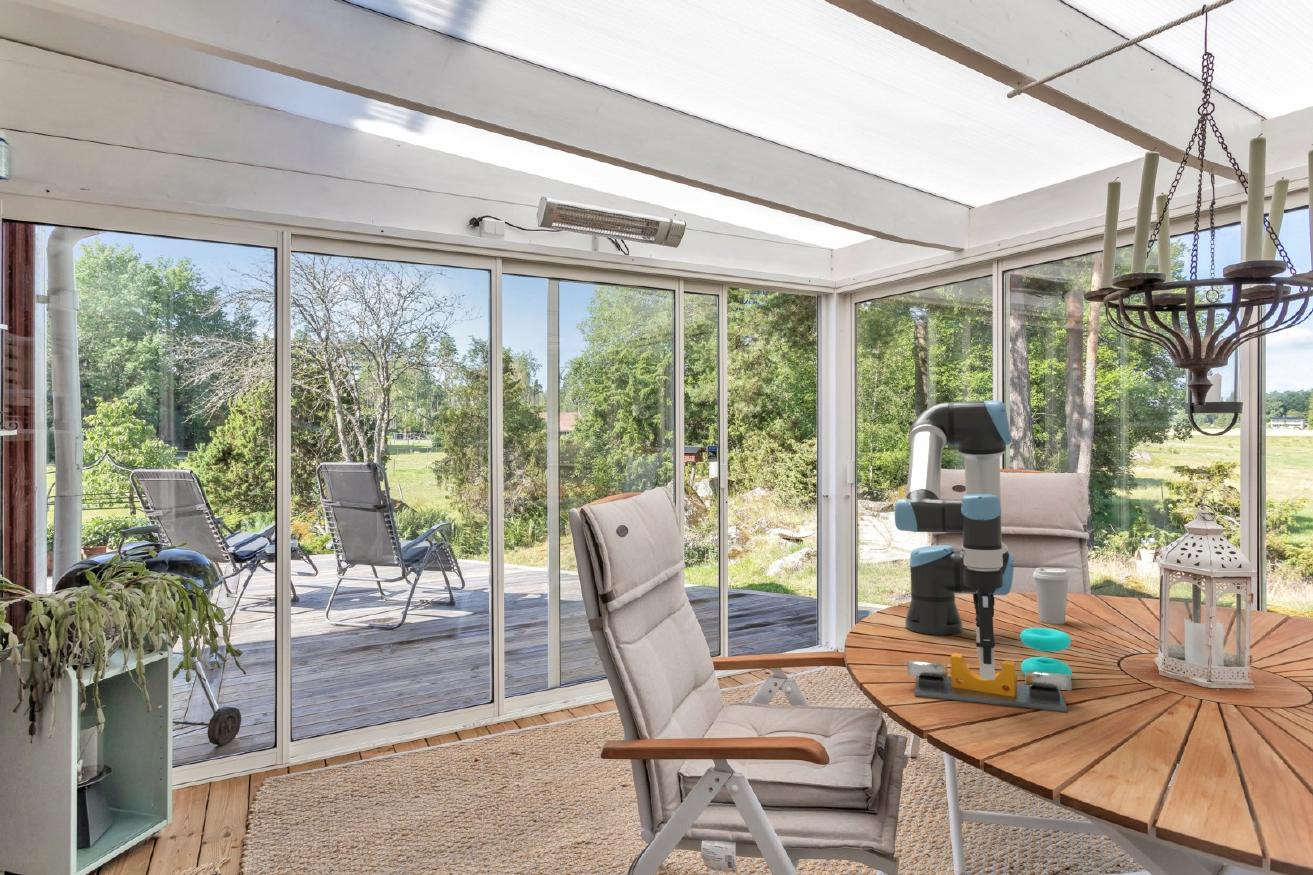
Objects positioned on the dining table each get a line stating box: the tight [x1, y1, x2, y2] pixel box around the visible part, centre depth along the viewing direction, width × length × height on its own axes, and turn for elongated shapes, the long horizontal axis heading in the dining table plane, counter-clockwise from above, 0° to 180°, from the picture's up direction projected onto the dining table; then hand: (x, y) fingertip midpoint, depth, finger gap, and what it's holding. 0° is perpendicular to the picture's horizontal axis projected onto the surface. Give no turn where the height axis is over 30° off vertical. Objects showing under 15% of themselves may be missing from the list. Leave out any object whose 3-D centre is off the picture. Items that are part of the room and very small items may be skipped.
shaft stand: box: [907, 659, 1072, 713], centre depth 148 cm, size 12×31×6 cm, turn 68°
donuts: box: [1019, 627, 1073, 677], centre depth 158 cm, size 10×10×10 cm
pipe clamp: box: [950, 652, 1018, 697], centre depth 148 cm, size 12×4×6 cm, turn 56°
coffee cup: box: [1032, 567, 1071, 625], centre depth 205 cm, size 10×10×15 cm
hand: (985, 668), depth 148 cm, fingers open, 13 cm apart
